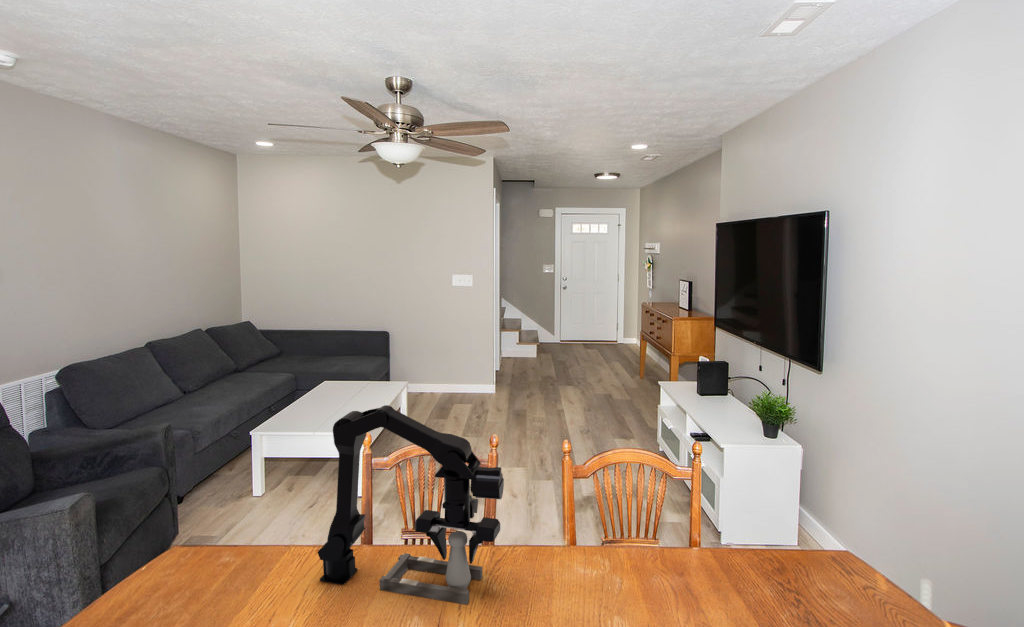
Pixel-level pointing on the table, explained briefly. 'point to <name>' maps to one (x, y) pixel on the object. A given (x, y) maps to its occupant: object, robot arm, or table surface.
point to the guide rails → (424, 589)
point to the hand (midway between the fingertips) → (458, 560)
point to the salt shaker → (458, 561)
